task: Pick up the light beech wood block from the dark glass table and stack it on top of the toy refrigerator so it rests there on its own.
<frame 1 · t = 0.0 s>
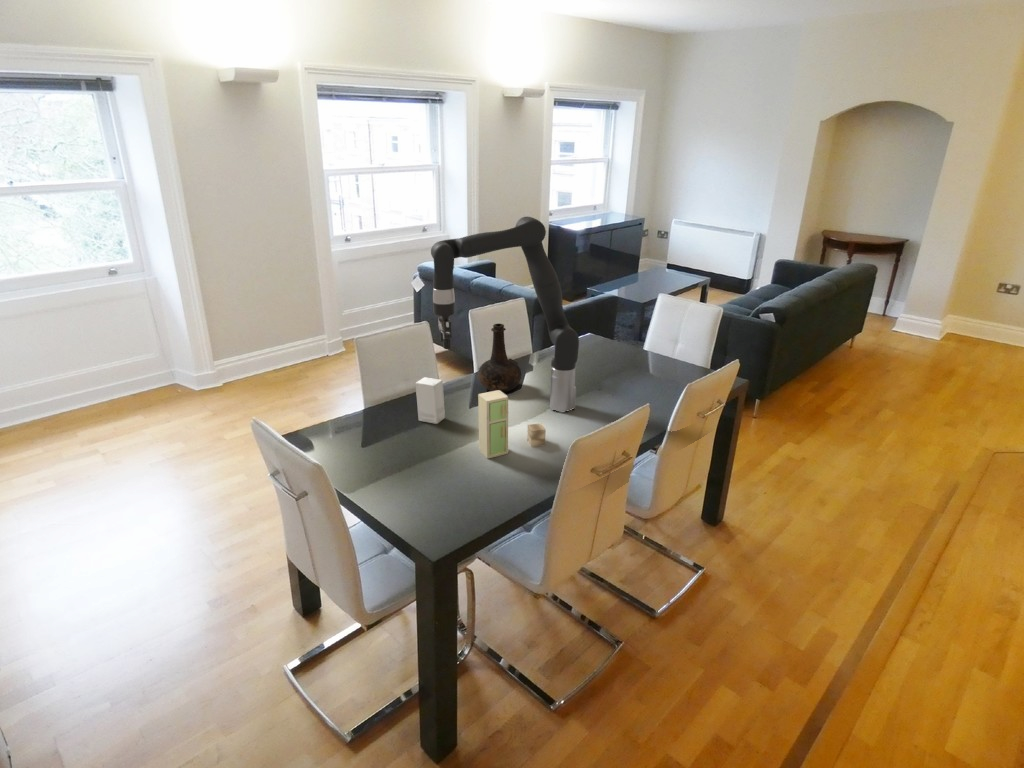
hand: (445, 344, 222), 29 cm above the table, fingers open, 8 cm apart
toy refrigerator: (493, 453, 209), on the table
glass bottle: (499, 389, 262), on the table
skincare box: (431, 420, 233), on the table
beech block: (536, 442, 216), on the table
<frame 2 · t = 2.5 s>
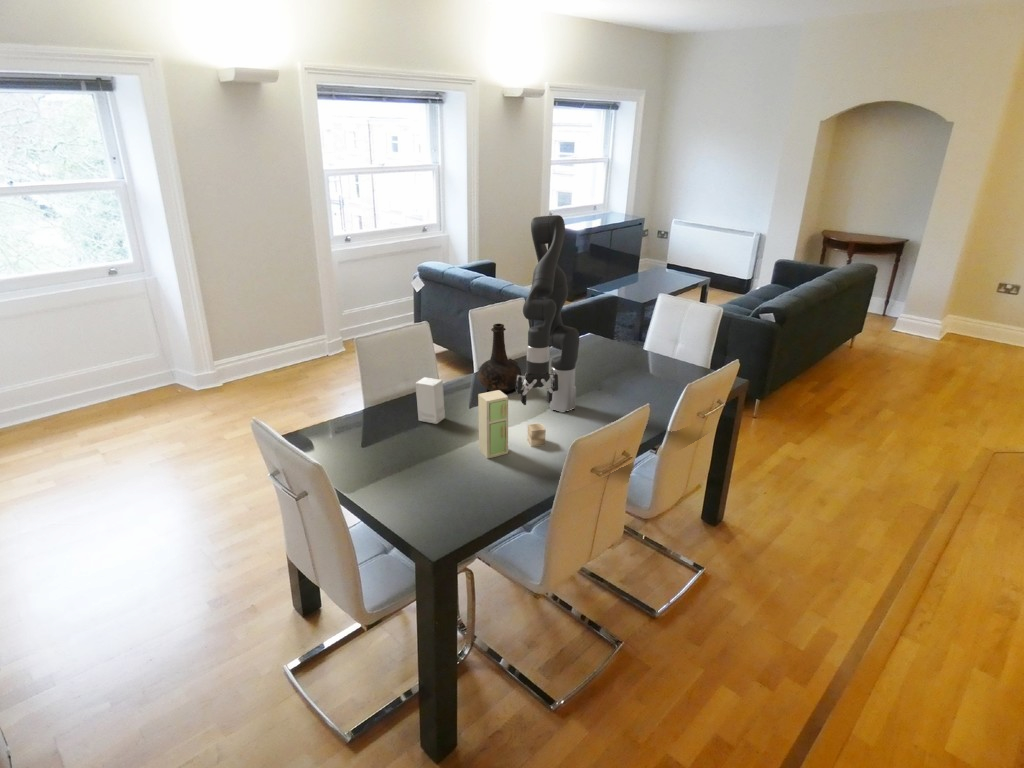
hand: (536, 403, 211), 15 cm above the table, fingers open, 8 cm apart
nothing on the table moved.
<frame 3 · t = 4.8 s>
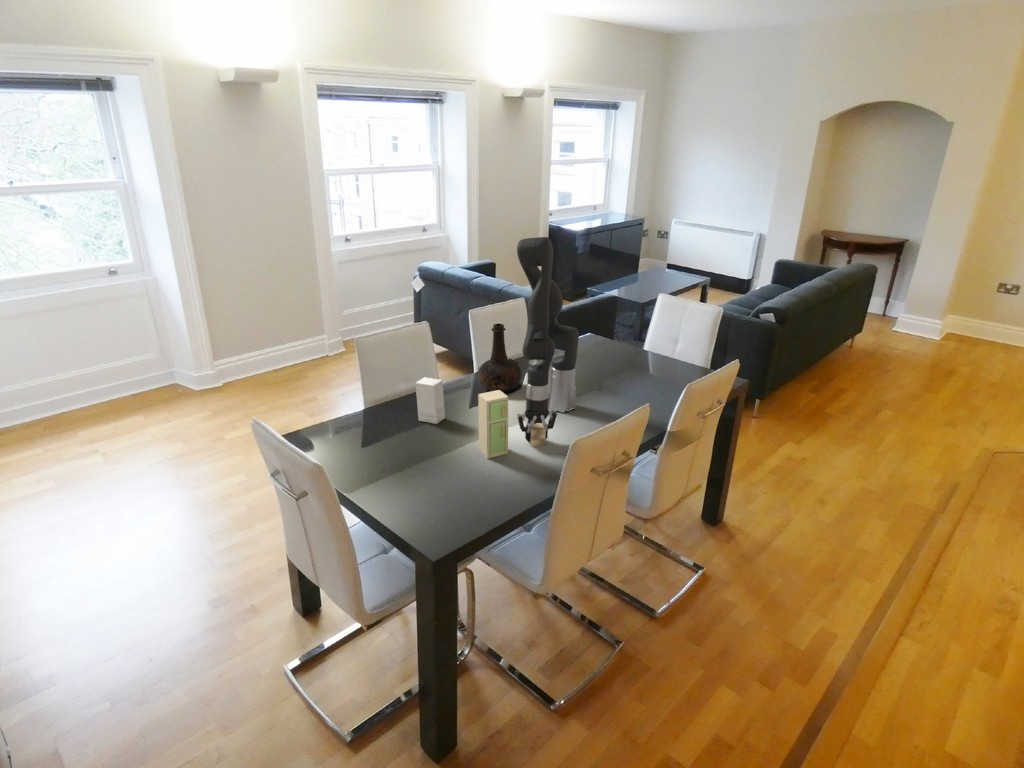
hand: (536, 440, 216), 1 cm above the table, fingers closed on beech block, 5 cm apart
beech block: (536, 442, 216), on the table, touching gripper
everything else where it was.
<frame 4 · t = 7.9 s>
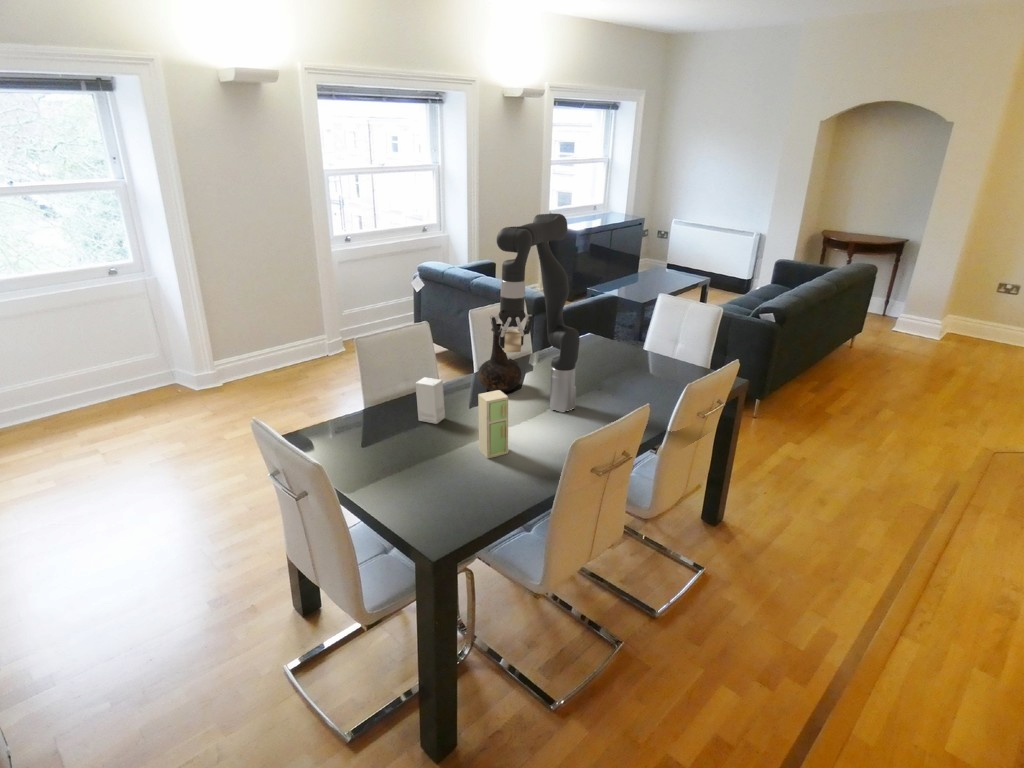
hand: (510, 346, 198), 37 cm above the table, fingers closed on beech block, 5 cm apart
beech block: (511, 349, 198), point 36 cm above the table, touching gripper
everything else where it was.
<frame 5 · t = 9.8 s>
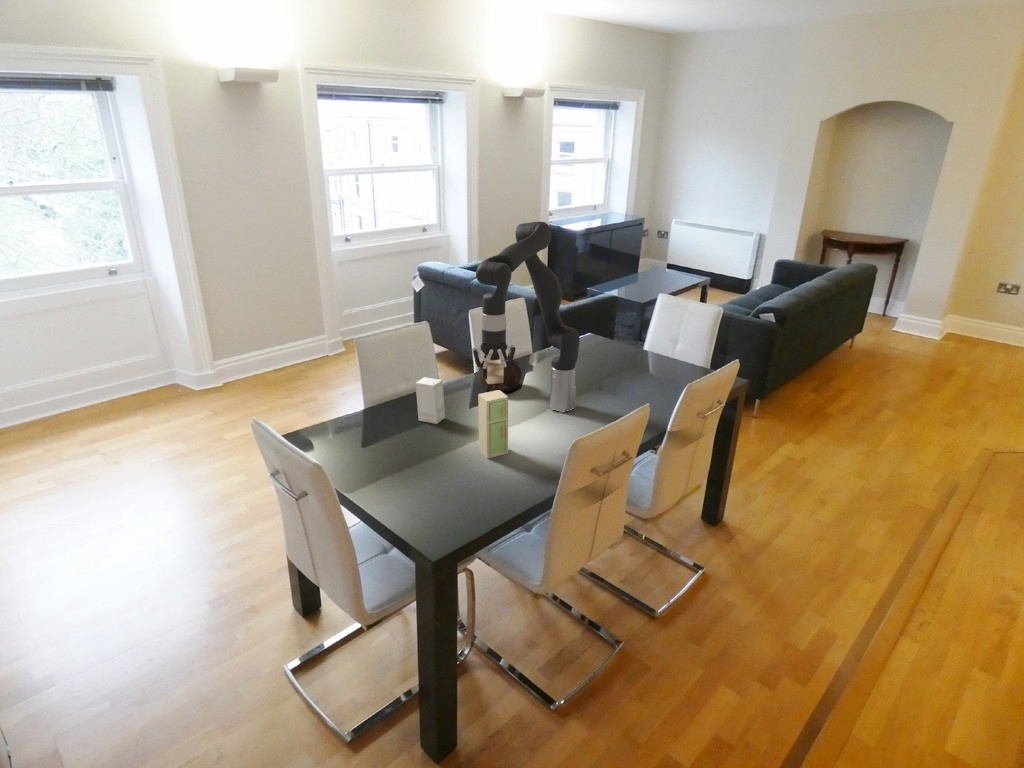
hand: (493, 377, 199), 27 cm above the table, fingers closed on beech block, 5 cm apart
beech block: (494, 380, 199), point 26 cm above the table, touching gripper
everything else where it was.
when the fingers open (23 cm above the table, at t = 11.5 s): beech block stays where it is, resting on toy refrigerator.
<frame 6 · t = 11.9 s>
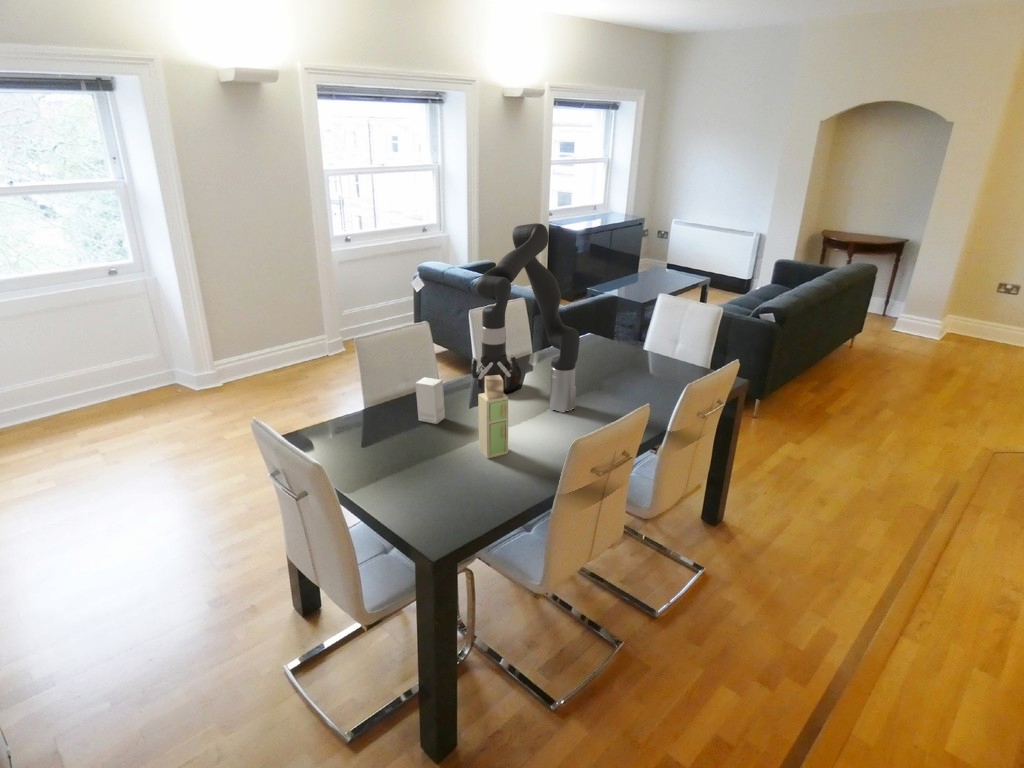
hand: (493, 387, 200), 24 cm above the table, fingers open, 8 cm apart
toy refrigerator: (493, 453, 209), on the table, touching beech block
beech block: (493, 395, 201), point 21 cm above the table, touching toy refrigerator
everything else where it was.
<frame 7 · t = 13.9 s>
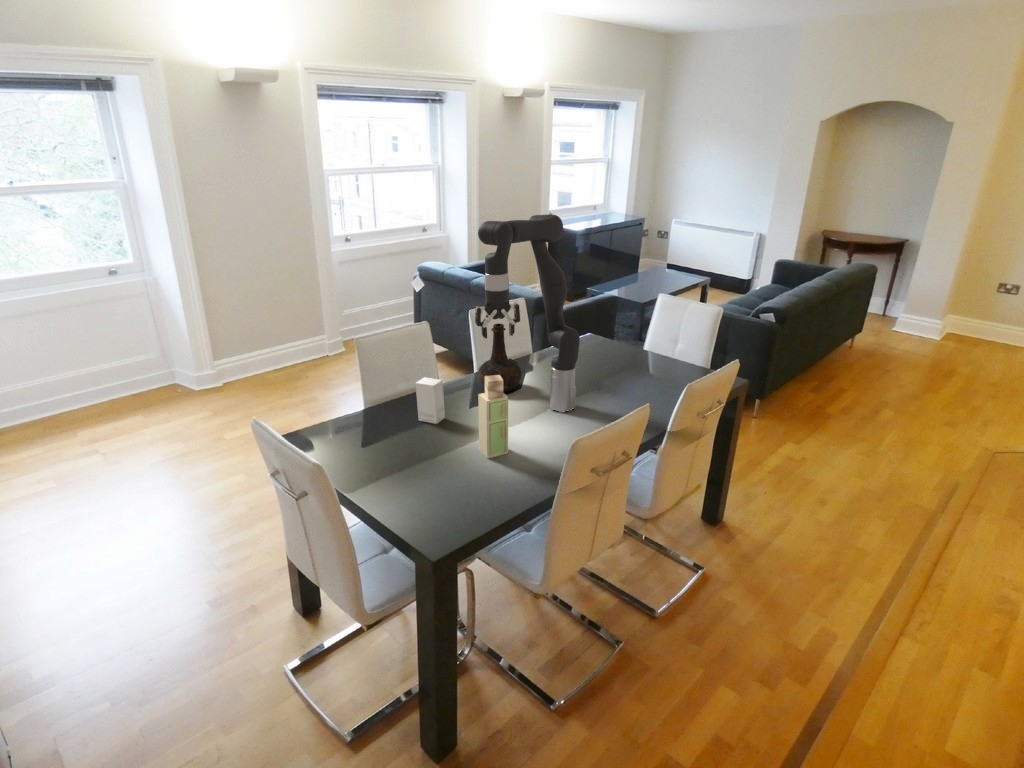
hand: (498, 336, 200), 39 cm above the table, fingers open, 8 cm apart
nothing on the table moved.
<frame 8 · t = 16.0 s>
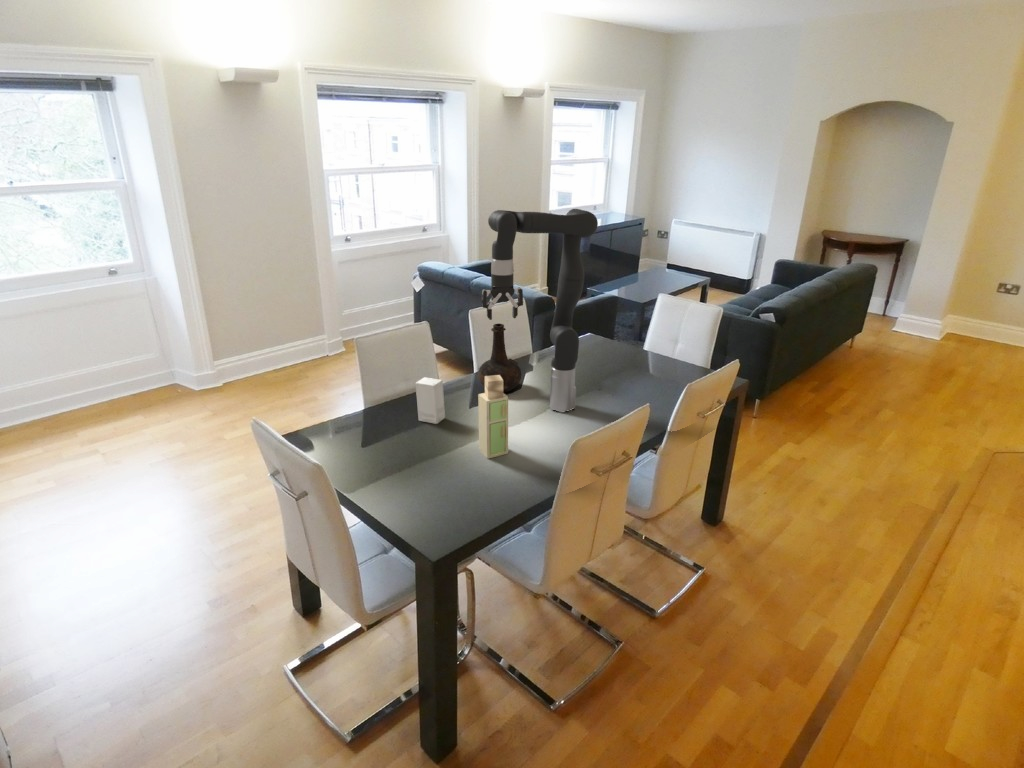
hand: (502, 318, 216), 40 cm above the table, fingers open, 8 cm apart
nothing on the table moved.
at the end: beech block inside the target area on the toy refrigerator (0.0 cm from its centre), point 21.2 cm above the toy refrigerator's base; toy refrigerator tilted 0°; the gripper is holding nothing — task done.
